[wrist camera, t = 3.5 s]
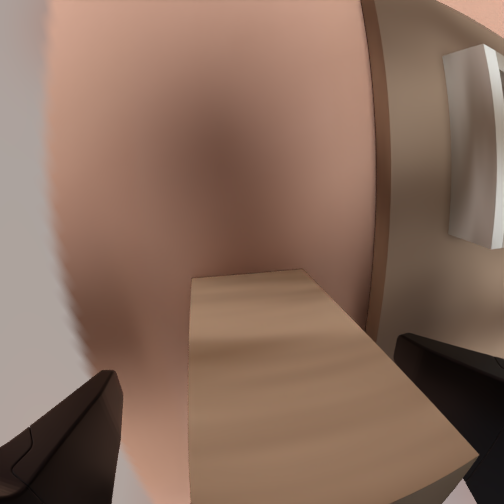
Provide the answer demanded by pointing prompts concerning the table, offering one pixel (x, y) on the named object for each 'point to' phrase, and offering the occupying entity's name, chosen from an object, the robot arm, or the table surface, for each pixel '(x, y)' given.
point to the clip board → (437, 176)
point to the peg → (305, 403)
